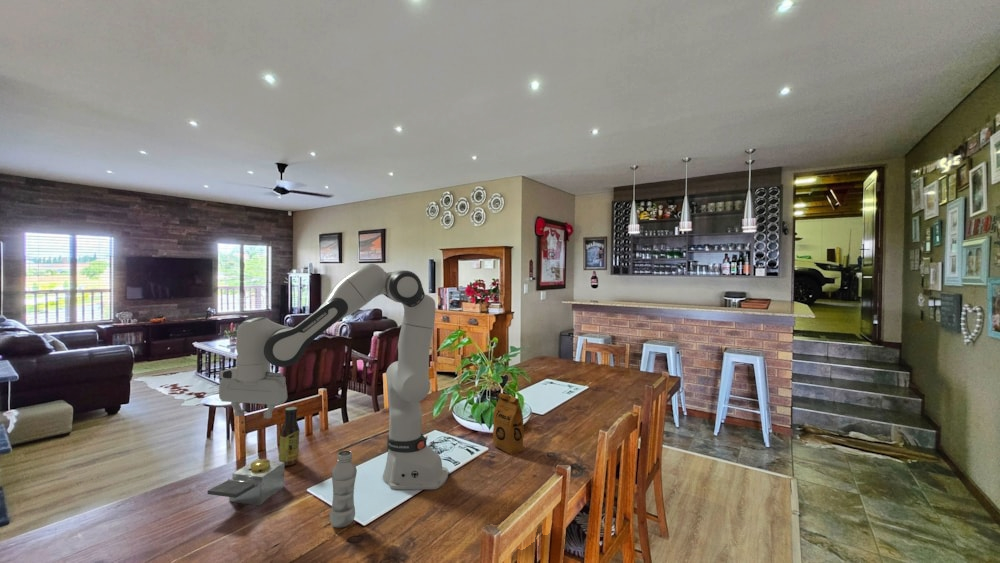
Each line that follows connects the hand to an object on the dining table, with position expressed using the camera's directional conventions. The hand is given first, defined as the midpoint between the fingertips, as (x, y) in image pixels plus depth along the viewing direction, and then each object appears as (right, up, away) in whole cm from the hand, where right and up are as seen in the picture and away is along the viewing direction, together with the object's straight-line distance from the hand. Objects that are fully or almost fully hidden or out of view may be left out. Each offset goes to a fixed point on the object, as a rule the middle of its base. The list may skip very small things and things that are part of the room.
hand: (253, 416), depth 123 cm
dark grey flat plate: (-3, -19, -5) cm, 20 cm away
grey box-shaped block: (-1, -26, +5) cm, 26 cm away
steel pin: (-1, -25, +5) cm, 26 cm away
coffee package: (+78, -28, +44) cm, 94 cm away
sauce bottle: (-3, -26, +25) cm, 36 cm away
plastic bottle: (+30, -27, -9) cm, 42 cm away
